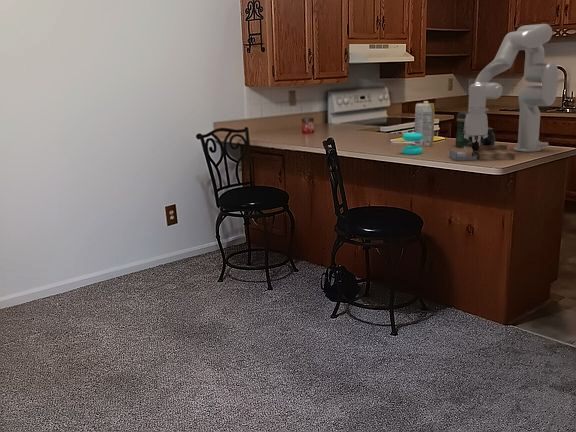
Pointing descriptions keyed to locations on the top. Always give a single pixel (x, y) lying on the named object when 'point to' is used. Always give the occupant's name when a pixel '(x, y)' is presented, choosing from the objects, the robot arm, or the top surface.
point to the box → (466, 158)
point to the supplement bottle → (488, 138)
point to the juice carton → (424, 123)
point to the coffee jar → (461, 131)
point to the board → (494, 153)
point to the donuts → (412, 137)
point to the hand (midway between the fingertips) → (475, 150)
